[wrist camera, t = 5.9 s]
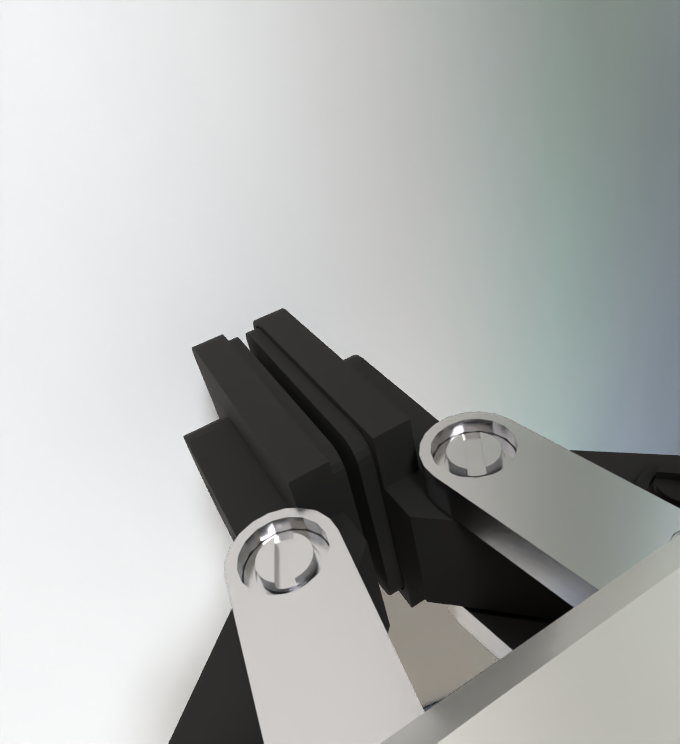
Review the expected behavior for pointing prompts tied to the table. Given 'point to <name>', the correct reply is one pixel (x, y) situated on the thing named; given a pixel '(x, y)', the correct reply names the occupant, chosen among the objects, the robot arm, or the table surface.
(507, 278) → the table surface
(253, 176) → the table surface
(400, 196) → the table surface
